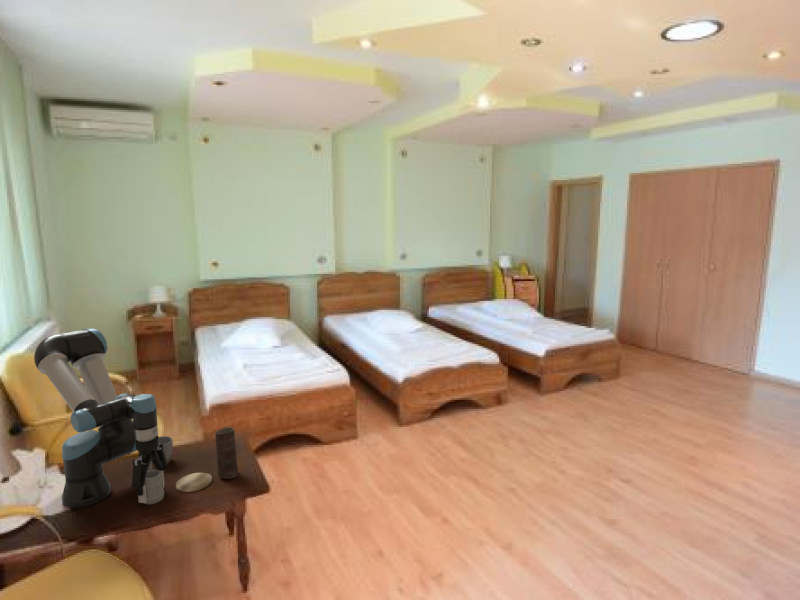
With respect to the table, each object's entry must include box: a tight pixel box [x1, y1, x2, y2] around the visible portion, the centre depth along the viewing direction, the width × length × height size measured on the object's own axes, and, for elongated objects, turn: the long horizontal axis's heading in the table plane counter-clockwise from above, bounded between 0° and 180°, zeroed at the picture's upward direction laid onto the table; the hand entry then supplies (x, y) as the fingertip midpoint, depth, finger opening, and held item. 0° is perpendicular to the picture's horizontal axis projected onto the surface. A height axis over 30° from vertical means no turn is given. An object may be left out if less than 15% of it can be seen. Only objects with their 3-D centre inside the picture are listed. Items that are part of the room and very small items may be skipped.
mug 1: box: [143, 461, 165, 505], centre depth 176 cm, size 8×12×12 cm, turn 28°
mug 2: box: [159, 435, 174, 464], centre depth 202 cm, size 12×9×10 cm
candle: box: [214, 426, 239, 479], centre depth 189 cm, size 8×7×20 cm
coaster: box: [175, 472, 213, 493], centre depth 186 cm, size 13×13×1 cm
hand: (152, 494), depth 176 cm, fingers closed on mug 1, 9 cm apart
